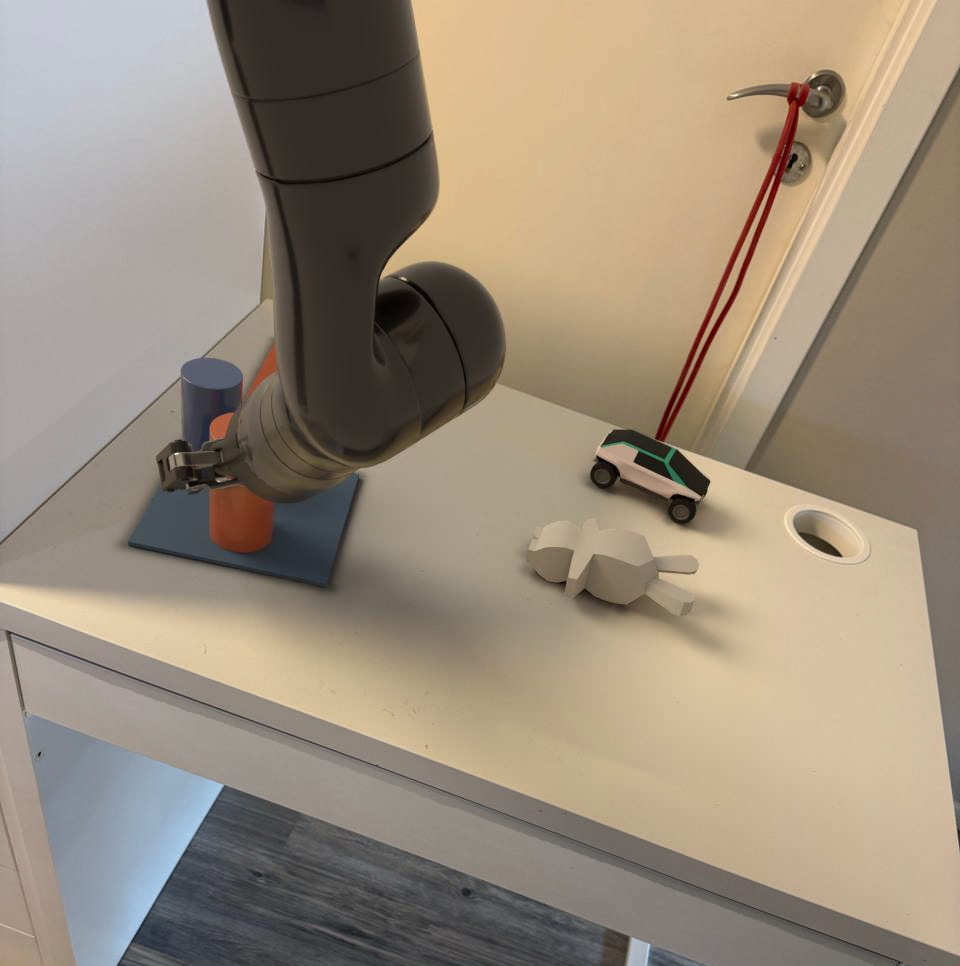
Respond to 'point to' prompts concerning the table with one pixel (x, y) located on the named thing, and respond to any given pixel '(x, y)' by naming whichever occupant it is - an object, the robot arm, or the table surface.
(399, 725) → the table surface
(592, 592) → the bunny figurine
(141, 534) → the blue mat
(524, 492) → the table surface
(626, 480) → the toy car
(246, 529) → the terracotta canister
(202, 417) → the blue canister
